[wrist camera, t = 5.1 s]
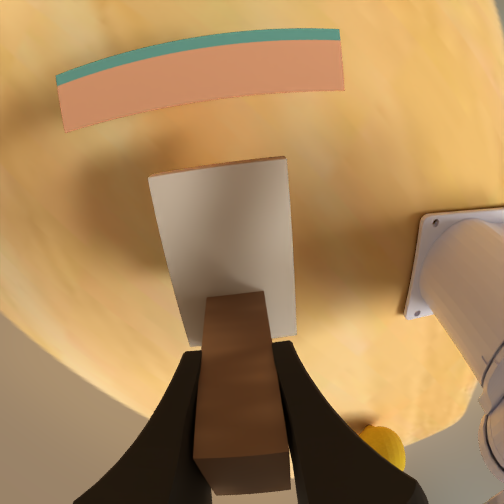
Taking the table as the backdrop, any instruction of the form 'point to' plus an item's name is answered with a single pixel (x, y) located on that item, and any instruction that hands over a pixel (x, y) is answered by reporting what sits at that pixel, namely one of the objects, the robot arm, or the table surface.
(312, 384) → the robot arm
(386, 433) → the lemon
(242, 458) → the brown grey l-shaped block
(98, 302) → the table surface
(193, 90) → the tile
